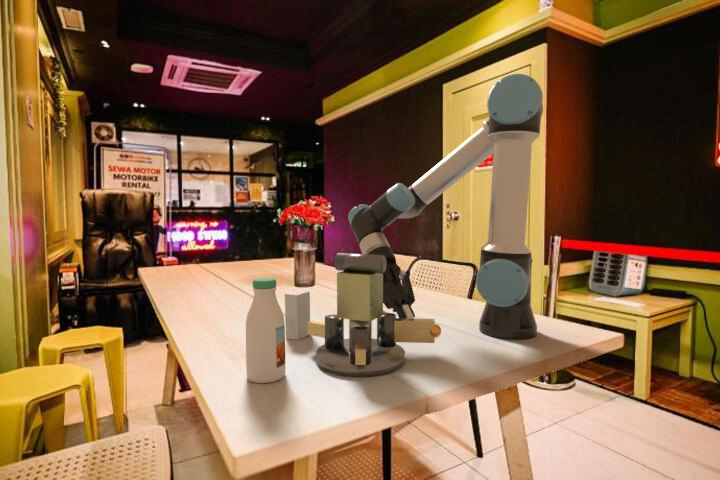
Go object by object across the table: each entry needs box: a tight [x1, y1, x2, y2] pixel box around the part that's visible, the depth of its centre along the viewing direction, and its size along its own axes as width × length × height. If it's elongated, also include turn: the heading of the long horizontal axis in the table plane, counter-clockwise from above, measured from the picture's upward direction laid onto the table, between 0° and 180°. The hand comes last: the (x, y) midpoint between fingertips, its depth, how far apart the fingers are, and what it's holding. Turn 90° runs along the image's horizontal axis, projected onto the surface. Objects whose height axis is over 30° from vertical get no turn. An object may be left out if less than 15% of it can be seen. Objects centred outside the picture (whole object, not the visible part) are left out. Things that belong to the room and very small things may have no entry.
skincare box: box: [284, 289, 311, 341], centre depth 113 cm, size 6×4×12 cm
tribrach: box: [308, 252, 406, 378], centre depth 94 cm, size 24×23×24 cm
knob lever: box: [376, 312, 442, 348], centre depth 98 cm, size 15×4×7 cm, turn 85°
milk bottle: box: [245, 277, 286, 384], centre depth 85 cm, size 8×8×20 cm
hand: (413, 330), depth 101 cm, fingers closed
